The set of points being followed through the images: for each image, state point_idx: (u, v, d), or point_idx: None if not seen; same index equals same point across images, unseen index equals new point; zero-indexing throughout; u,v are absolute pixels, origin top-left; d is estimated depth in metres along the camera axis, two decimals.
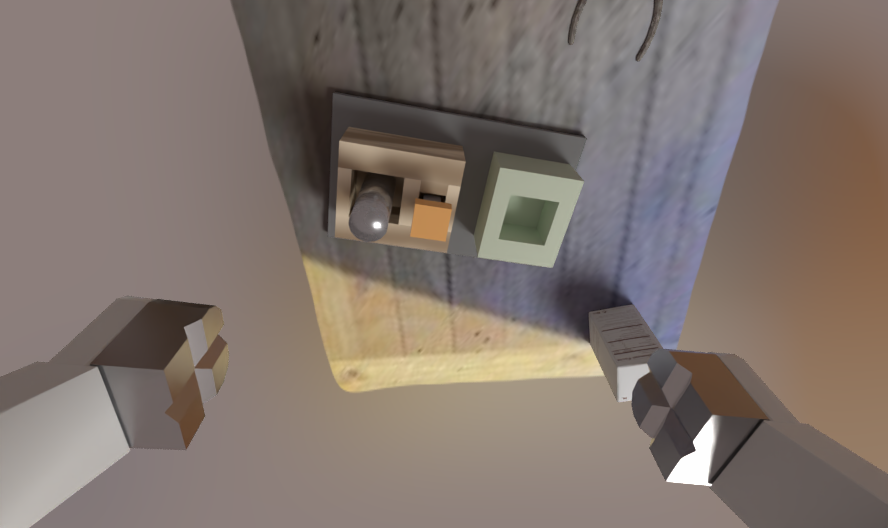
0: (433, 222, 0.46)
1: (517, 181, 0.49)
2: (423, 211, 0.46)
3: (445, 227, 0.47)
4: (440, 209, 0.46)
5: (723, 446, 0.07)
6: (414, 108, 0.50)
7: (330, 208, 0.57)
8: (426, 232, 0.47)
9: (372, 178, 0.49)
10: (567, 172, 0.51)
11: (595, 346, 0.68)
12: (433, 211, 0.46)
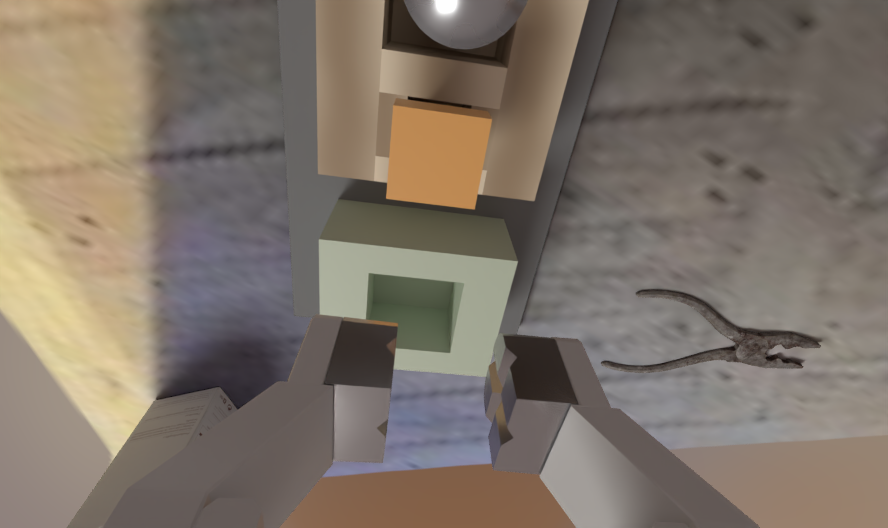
0: (439, 167, 0.18)
1: (490, 290, 0.27)
2: (469, 141, 0.18)
3: (426, 197, 0.19)
4: (474, 183, 0.19)
5: (540, 432, 0.07)
6: (594, 71, 0.26)
7: None
8: (408, 150, 0.18)
9: None
10: None
11: (159, 423, 0.38)
12: (469, 167, 0.18)
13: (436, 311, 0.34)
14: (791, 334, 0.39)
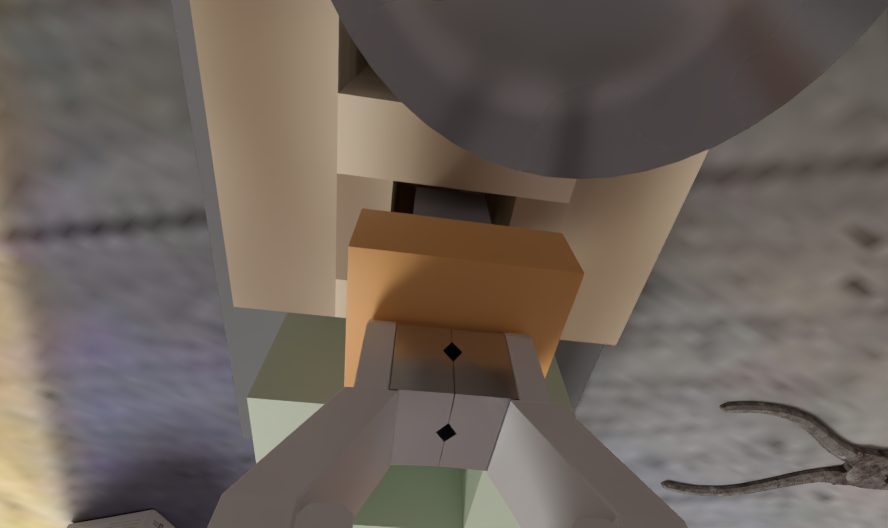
0: None
1: None
2: (528, 315, 0.08)
3: None
4: None
5: (482, 428, 0.07)
6: None
7: None
8: None
9: None
10: None
11: None
12: None
13: None
14: None
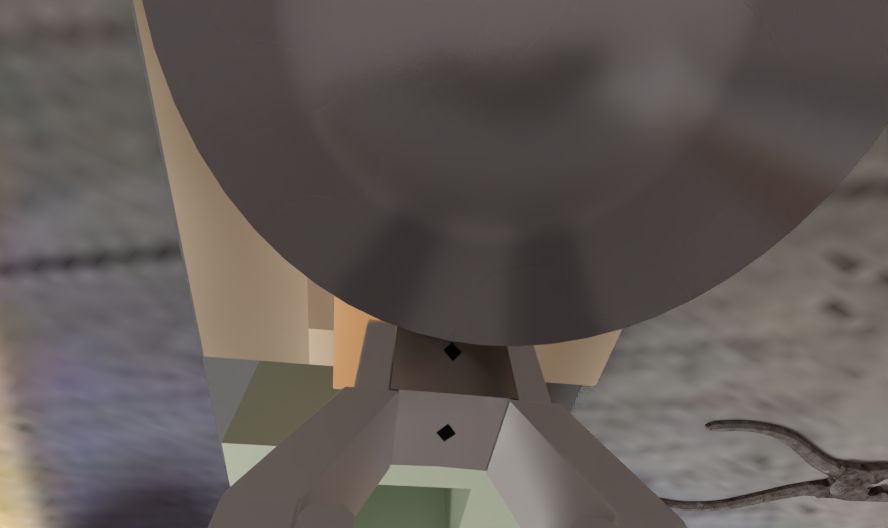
0: None
1: None
2: None
3: None
4: None
5: (482, 428, 0.07)
6: None
7: None
8: None
9: None
10: None
11: None
12: None
13: None
14: None
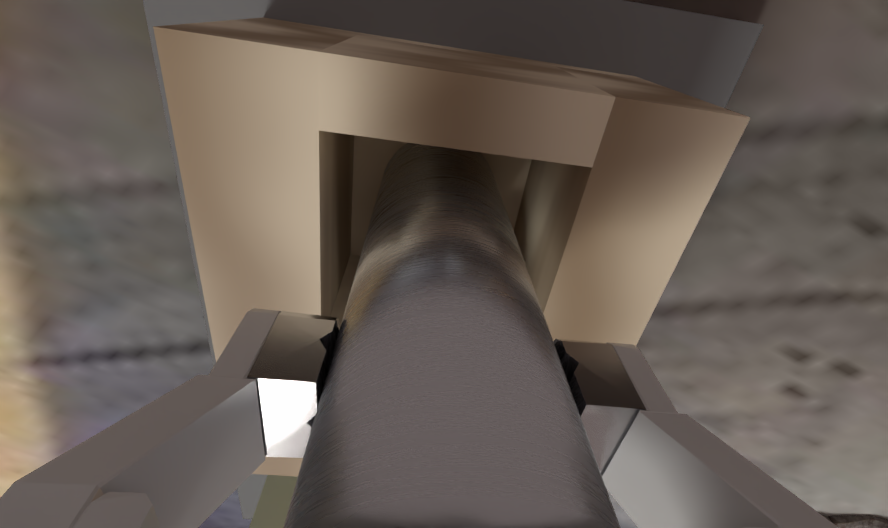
0: None
1: None
2: None
3: None
4: None
5: (605, 437, 0.07)
6: None
7: None
8: None
9: None
10: None
11: None
12: None
13: None
14: (870, 519, 0.31)
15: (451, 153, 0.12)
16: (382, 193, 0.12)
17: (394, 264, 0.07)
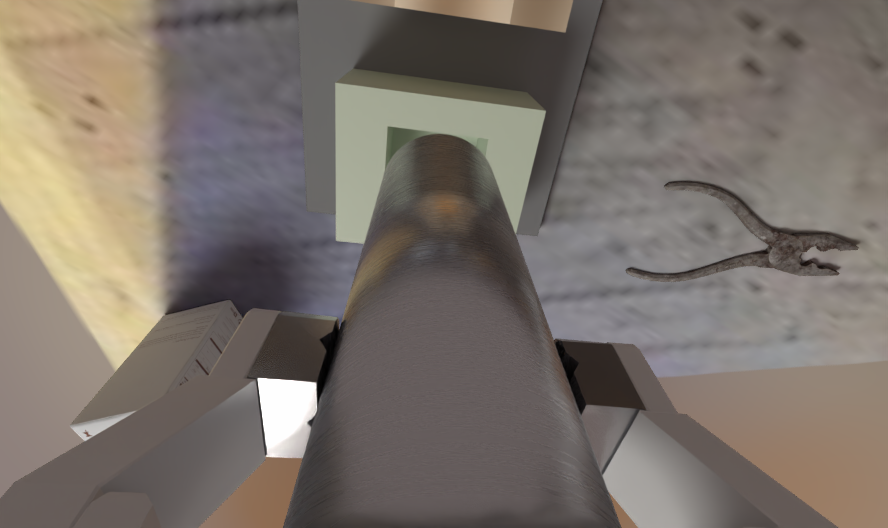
0: None
1: (515, 148, 0.26)
2: None
3: None
4: None
5: (605, 437, 0.07)
6: None
7: None
8: None
9: None
10: None
11: (168, 332, 0.37)
12: None
13: None
14: (827, 234, 0.37)
15: (451, 152, 0.12)
16: (382, 192, 0.11)
17: (395, 262, 0.07)
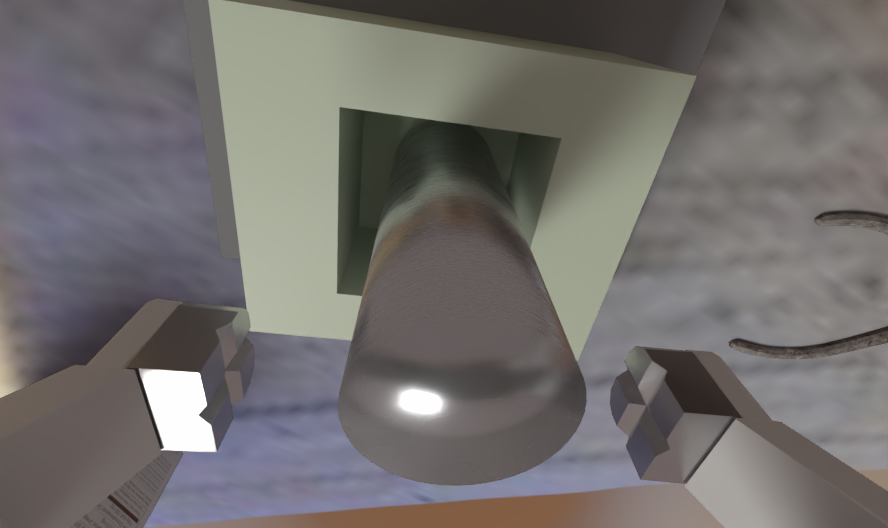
0: None
1: (617, 160, 0.12)
2: None
3: None
4: None
5: (696, 444, 0.07)
6: None
7: None
8: None
9: None
10: None
11: None
12: None
13: None
14: None
15: (455, 132, 0.14)
16: (397, 165, 0.14)
17: (414, 207, 0.10)
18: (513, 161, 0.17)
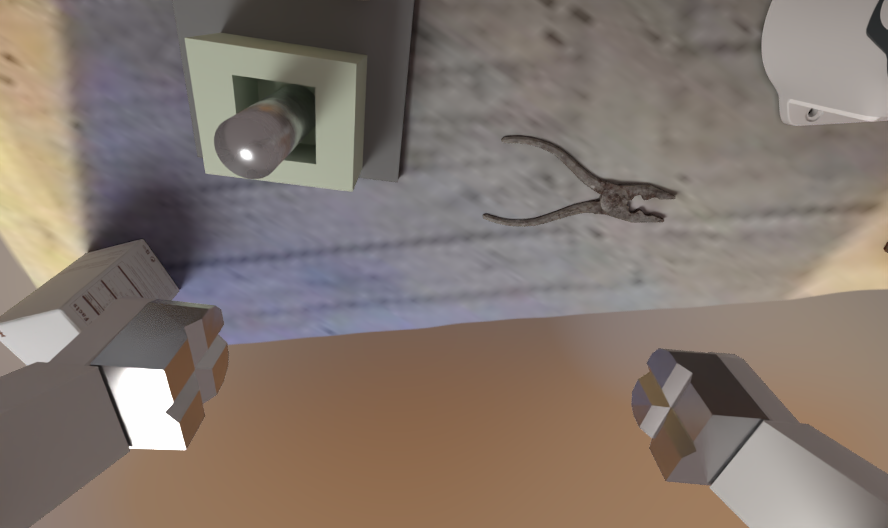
0: None
1: (338, 95, 0.32)
2: None
3: None
4: None
5: (723, 446, 0.07)
6: None
7: None
8: None
9: (308, 114, 0.34)
10: (357, 167, 0.37)
11: (85, 263, 0.43)
12: None
13: None
14: (647, 185, 0.44)
15: (291, 88, 0.35)
16: None
17: None
18: None
